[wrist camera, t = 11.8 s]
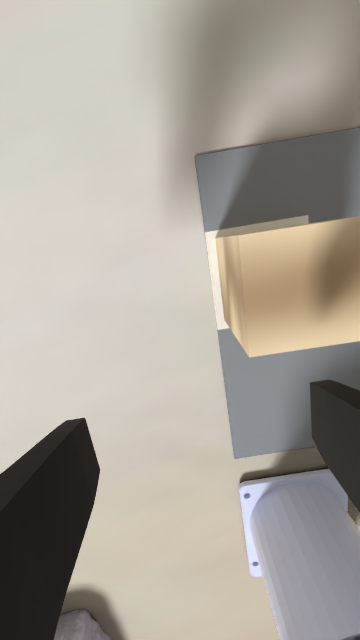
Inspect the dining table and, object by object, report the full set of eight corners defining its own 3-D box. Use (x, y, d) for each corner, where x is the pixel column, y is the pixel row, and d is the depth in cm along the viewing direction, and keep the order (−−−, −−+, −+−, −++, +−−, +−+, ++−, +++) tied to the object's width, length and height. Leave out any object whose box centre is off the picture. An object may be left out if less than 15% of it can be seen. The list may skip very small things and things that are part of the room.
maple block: (303, 308, 18) (367, 339, 12) (224, 319, 18) (249, 357, 12) (300, 224, 16) (371, 214, 10) (215, 238, 16) (238, 235, 11)
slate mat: (467, 422, 20) (469, 423, 20) (234, 457, 21) (234, 459, 20) (509, 102, 15) (512, 100, 15) (194, 156, 15) (195, 155, 15)
